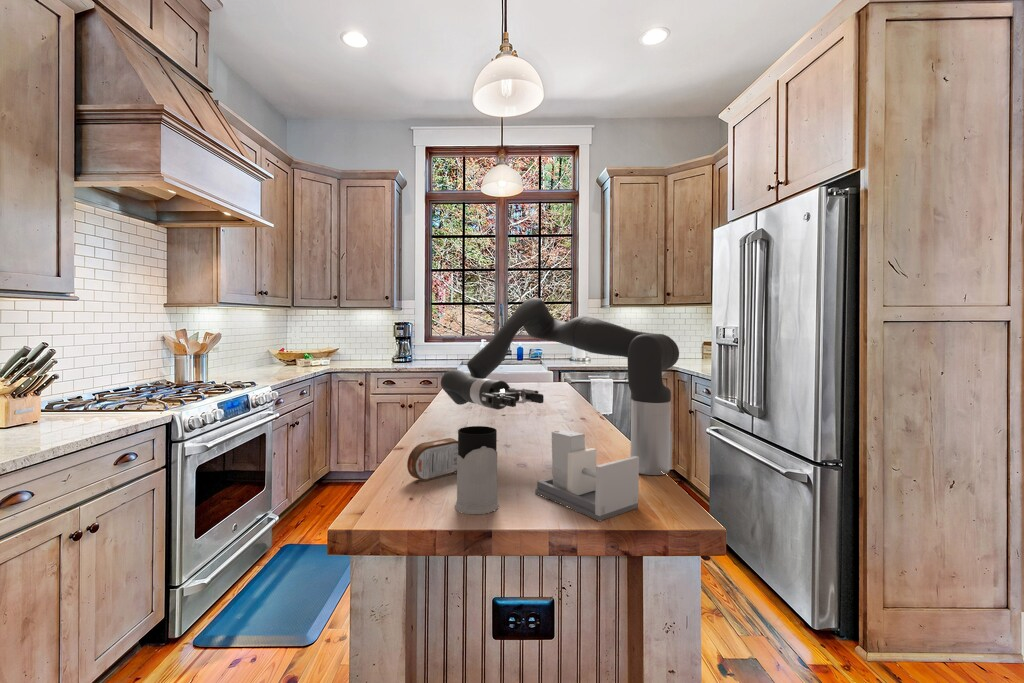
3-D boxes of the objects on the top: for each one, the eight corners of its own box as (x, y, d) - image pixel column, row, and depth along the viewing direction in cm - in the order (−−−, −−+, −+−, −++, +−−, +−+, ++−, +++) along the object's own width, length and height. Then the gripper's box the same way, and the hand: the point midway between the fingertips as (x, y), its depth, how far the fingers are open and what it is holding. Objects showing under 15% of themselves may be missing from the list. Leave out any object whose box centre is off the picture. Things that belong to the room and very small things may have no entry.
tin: (459, 468, 122) (459, 434, 121) (467, 471, 119) (467, 436, 119) (406, 482, 111) (406, 445, 111) (414, 486, 109) (414, 447, 108)
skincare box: (586, 491, 103) (587, 433, 102) (570, 496, 100) (571, 436, 100) (565, 483, 108) (566, 428, 107) (550, 487, 105) (550, 431, 104)
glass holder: (461, 517, 91) (461, 437, 91) (442, 492, 105) (442, 421, 104) (506, 511, 95) (506, 433, 94) (482, 487, 108) (482, 419, 107)
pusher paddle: (591, 488, 104) (592, 447, 103) (613, 496, 99) (614, 454, 99) (567, 495, 100) (567, 453, 99) (589, 504, 95) (589, 460, 94)
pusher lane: (573, 483, 111) (573, 439, 111) (638, 507, 97) (638, 457, 96) (535, 493, 104) (535, 446, 104) (599, 521, 90) (599, 467, 90)
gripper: (467, 381, 127) (505, 387, 114) (511, 377, 136) (551, 382, 123) (467, 410, 127) (505, 419, 115) (511, 404, 136) (551, 412, 123)
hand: (529, 400), depth 119 cm, fingers open, 8 cm apart
